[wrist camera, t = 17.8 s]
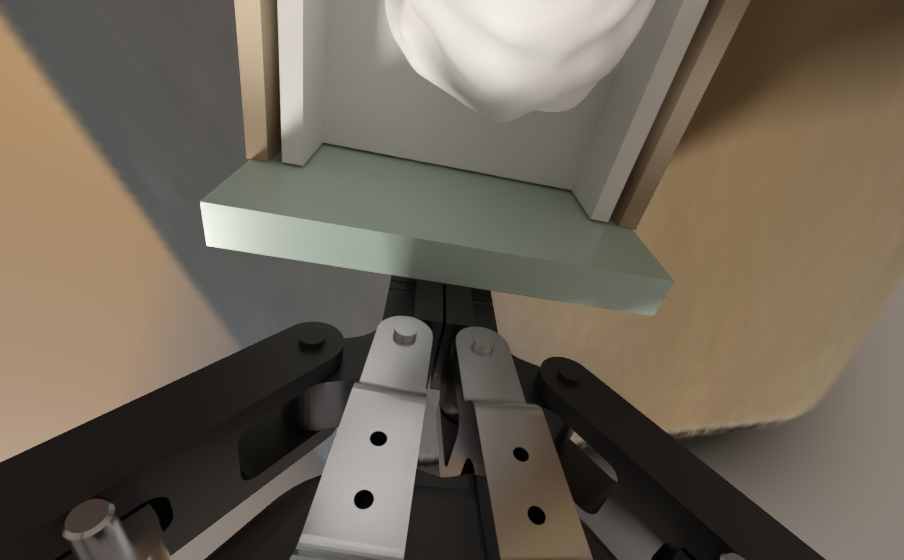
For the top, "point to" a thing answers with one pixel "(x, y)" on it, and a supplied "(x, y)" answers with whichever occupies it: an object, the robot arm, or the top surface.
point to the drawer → (450, 167)
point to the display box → (662, 140)
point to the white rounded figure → (515, 48)
